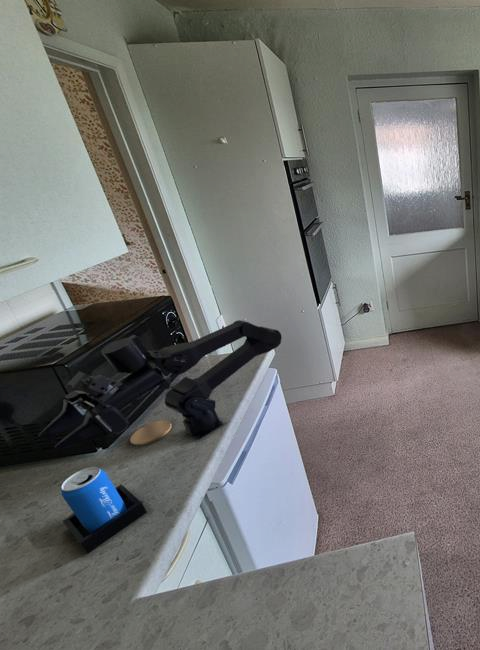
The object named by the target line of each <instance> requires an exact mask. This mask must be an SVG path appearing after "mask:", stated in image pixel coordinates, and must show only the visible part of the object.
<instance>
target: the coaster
mask: <svg viewBox="0 0 480 650" xmlns="http://www.w3.org/2000/svg"><path fill="white" fill-rule="evenodd" d="M172 427H173V426H172V423H171V421H169V420H167V419H165V420H157V421H153V422H150V423H148V424H146V425H144V426H142V427H140V428H139V429H137V430H136V431H135V432H134V433H133V434H132V435H131V437H130V438H129V442H130V444H131V445H133V446H136V447H137V446H138V447H139V446H145V445H149V444H151V443H153V442H156V441H158V440H160V439H161V438H163V437H164V436H166V435H167V434H168V433H169V432H170V430H171V429H172Z"/></svg>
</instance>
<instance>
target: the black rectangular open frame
mask: <svg viewBox="0 0 480 650" xmlns="http://www.w3.org/2000/svg"><path fill="white" fill-rule="evenodd" d="M115 489H116V490H117V492H118V493H119V495H120V497H121V498H122V500H124V499H125V500H126V501H127V502H128V503H129V504H130V505H131V506H129V507H127V509H126V510H125V511H123V512H122V513H120V514H119V515H117V516H116V517H114V518H113V519H111V520H110V521H108V522H107V523H106V524H104V525H103V526H101V527H100V528H98V529H97V530H95V531H94V532H92V533H91V534H90V533H88V535H86V536H85V537H84V535H83V534H82V533H81V532H80V531H79V528H81V527H83V525H82V524H81V522H80V521H79V519H78V518H77V517H76V515H75V514H74V513H72V514H71V515H69V516H68V517H66V518H65V519H63V520H62V522H63V524H64V526H65V527H66V528H67V530H68V532H70V534H71V535H72V536H73V537H74V539H75V540H76V541H77V542H78V544H79V545H80V546H81V547H82V548H83V550H84V551H85V552H86V554H90V553H91V552H93V551H94V550H96V549H97V548H99V547H100V546H101V545H103V544H104V543H105V542H107V541H109V539H111V538H113V537H115V536H116V535H117V534H118V533H120V532H121V531H123V530H124V529H126V528H127V527H129V526H130V525H131V524H133V523H134V522H136V521H137V520H139V519H140V518H141V517H143V516H144V515H147V513H148V511H147V509H146V508H145V505H144V504H143V502H142V501H141V500H140V499H138V498H137V497H136V496H135V495H134V494H133V493H132V492H131V491H130V490H129V489H128V488H126V487H125V486H124V484H119V485H118V486H115Z"/></svg>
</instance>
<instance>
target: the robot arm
mask: <svg viewBox="0 0 480 650" xmlns="http://www.w3.org/2000/svg"><path fill="white" fill-rule="evenodd" d="M243 337H244V338H245V340H244V343H243V344H241V346H239V347H238V348H236V349H235V350H234V351H232V352H231V353H230V354H229V355H227V356H226V357H224V358H223V359H221V360H220V361H218V363H216V364H215V365H213V366H212V367H211V368H209V369H208V370H207V371H205V372H204V373H203V374H201V375H200V376H198V377H195V378H190V377H187V376H184V377H183V378H182V379H180V380H179V381H178V382H177V383H175V384H174V385H171V381H172V377H171V376H168V375H164V373H163V372H162V371H165V372H166V373H169V374H172V375H182V374H184V373H186V372H188V371H189V370H190V369H192V368H194V367H195V366H196V365H198V363H199V362H200V361H201V360H202V359H203V358H204V357H206V356H207V355H209V354H211V353H213V352H215V351H218V350H219V349H221V348H223V347H225V346H226V347H227V346H228V345H229V344H232V343H234V342H237V341H238V340H240V339H242V338H243ZM281 344H282V334H281V332H280V330H278V329H275V328H270V327H266V326H258V325H255V324H253V323H252V322H249V321H246V320H241V319H238V320H235V321H234V322H233V323H231V324H228V325H226V326H223V327H221V328H220V329H217V330H215V331H213V332H211V333H208V334H206V335H204V336H202V337H200V338H197V339H195V340H192V341H188V342H182V343H176V344H172V345H168V346H165V347H162V348H160V349H159V350H148V349H147V348H146V346H145V344H143V341H142V339H141V338H140V337H139V335H138V336H137V335H135V334H132V335H130V336H128V337H125V338H124V337H123V338H121V339H118V340H116V341H114V340H113V341H112V342H110V343H108V344H106V345H105V346H103V348H102V349H101V350H100V354H101V355H102V356H103V357H104V358H105V359H106V360H107V361H108V362H109V364H110V365H111V366H112V367H113V368H114V369H115V371H116V372H117V373H118V374H123V373H126V375H125V376H123V377H122V378H120V379H119V380H116V379H110V378H109V377H106V376H104V375H102V374H98V375H97V374H96V375H95V376H91V375H89V374H87V373H84V372H81V371H78V372H77V373H76V374H75V375H74V377H72V379H71V380H69V382H67V384H66V386H69V387H71V388H72V389H75V390H72V391H70V392H69V393H68V394H66V395H64V398H65V399H63V401H62V402H63V406H62V410H61V412H60V413H59V414H58V415H57V416H56V417H54V419H53V420H51V422H50V423H49V424H48V425H47V426H46V427H45V428H44V429H43V430H41V432H40V433H38V436H39V437H40V438H41V439H46V438H49V437H52V436H54V435H57V434H59V433H62V432H65V431H66V430H70V429H71V428H74V427H76V426H77V427H76V428H75V429H74V430H73V431H71V432H70V433H68V434H67V435H66V436H65V437H64V438H63V439H61V440H60V441H59V442H57V444H55V445H54V448H55V449H56V450H57V451H62V450H65V449H68V448H72V447H74V446H78V445H82V444H84V443H88V442H91V441H94V440H98V439H101V438H105V437H108V436H109V437H111V436H113V435H114V434H116V435H120V434H121V433H123V432H124V431H125V430H127V429H128V427H129V424H130V421H129V419H127V418H126V416H125V415H124V414H123V413H122V411H123V410H125V409H127V407H129V406H131V405H133V406H137V405H138V404H139V403H140V400H139V399H141V398H143V396H146V395H147V394H148V393H149V392H151V391H152V390H154V389H156V387H158V386H159V387H161V388H163V389H165V390H168V391H167V392H166V393H165V396H164V405H165V406H166V407H167V408H168V409H170V410H172V411H173V412H177V413H179V414H181V416H182V418H183V420H182V424H183V426H184V428H185V431H186V432H187V434H188V435H190V436H191V437H195V438H196V439H198V440H200V439H203V438H204V437H206V436H207V435H209V434H210V433H212V432H213V431H215V430H217V429H219V428H220V427H222V426H223V425H224V421H222V420H220V419H219V415H218V414H217V412H216V410H215V409H216V400H214V399H212V398H210V397H211V395H212V392H213V391H214V390H215V389H216V388H218V387H219V386H220V385H221V384H223V383H224V382H225V381H227V380H228V379H229V378H231V376H233V375H234V374H235V373H237V372H238V371H239V370H240V369H242V368H243V367H245V366H246V365H247V364H248V363H249V362H250V361H252V360H253V359H255V358H256V357H257V356H260V355H263V354H267V353H269V352H272V351H273V350H275V349H276V348H278V347H279V346H280V345H281ZM150 363H151V364H153V365H154V366H155V367H152V365H151V364H150ZM161 370H162V371H161Z"/></svg>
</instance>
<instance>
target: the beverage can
mask: <svg viewBox="0 0 480 650" xmlns="http://www.w3.org/2000/svg"><path fill="white" fill-rule="evenodd" d="M60 488H61V493H60V494H61V497H62V498H63V499H64V501H65V502H66V504H67V505H68V507H69V508H70V510H71V511H72V512H73V514H75V515H76V517H77V518H78V519H79V521H80V522H81V524H82V527H83V528H84V530H85V531H86V532H87V533H88V534H91V533H92V532H94V531H95V530H97V529H98V528H100V527H101V526H103V525H104V524H106V523H107V522H108V521H110V520H111V519H113V518H114V517H116V516H117V515H119V514H120V513H122V512H123V511H125V510H126V509H128V507H127V505H126V504H125V502H124V499H122V498H121V497H120V495H119V493H118V492H117V490H116V489H115V488H116V486H115V485H114V483H113V482H112V480H111V479H110V477H109V476H108V474H107V472H106V471H105V470H103V469H101V468H100V467H98V466H90V467H87V468H83V469H81V470H79V471H77V472H75V473H73V474H72V475H70V476H69V477H67V478H66V479H65V480H64V481H63V482H62V484H61V487H60Z"/></svg>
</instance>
